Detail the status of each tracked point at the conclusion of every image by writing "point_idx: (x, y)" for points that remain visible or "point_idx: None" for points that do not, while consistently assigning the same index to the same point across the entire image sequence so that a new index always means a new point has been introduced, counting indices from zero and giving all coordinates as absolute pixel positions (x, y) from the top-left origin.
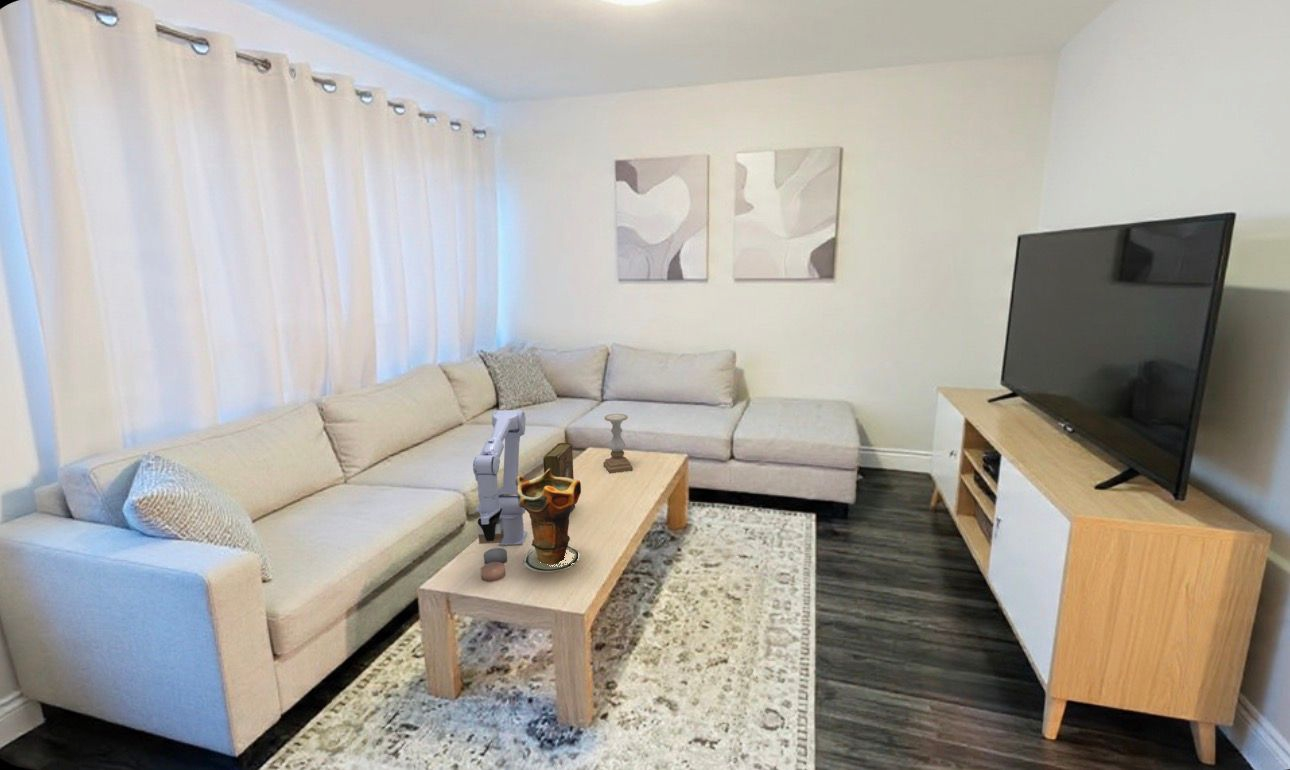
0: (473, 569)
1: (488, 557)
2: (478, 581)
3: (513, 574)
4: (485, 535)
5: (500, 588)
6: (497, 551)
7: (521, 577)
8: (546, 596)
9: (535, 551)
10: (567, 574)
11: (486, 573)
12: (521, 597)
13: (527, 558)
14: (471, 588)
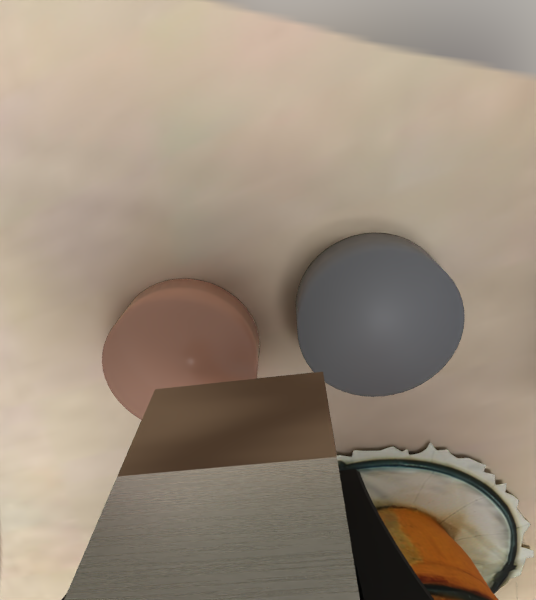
0: (251, 195)
1: (319, 301)
2: (110, 280)
3: None
4: None
5: (70, 411)
6: (410, 334)
7: None
8: (59, 577)
9: (454, 485)
10: None
11: (103, 354)
12: (24, 505)
13: (374, 466)
14: (28, 267)
